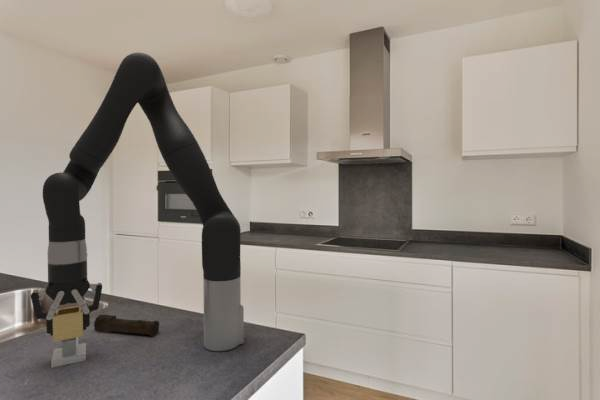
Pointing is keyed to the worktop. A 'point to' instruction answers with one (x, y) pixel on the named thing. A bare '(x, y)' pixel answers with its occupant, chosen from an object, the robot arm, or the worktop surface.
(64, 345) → the clear stepped bracket
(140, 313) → the worktop surface
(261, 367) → the worktop surface
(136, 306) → the worktop surface
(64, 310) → the tan open-top container
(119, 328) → the hand tool
